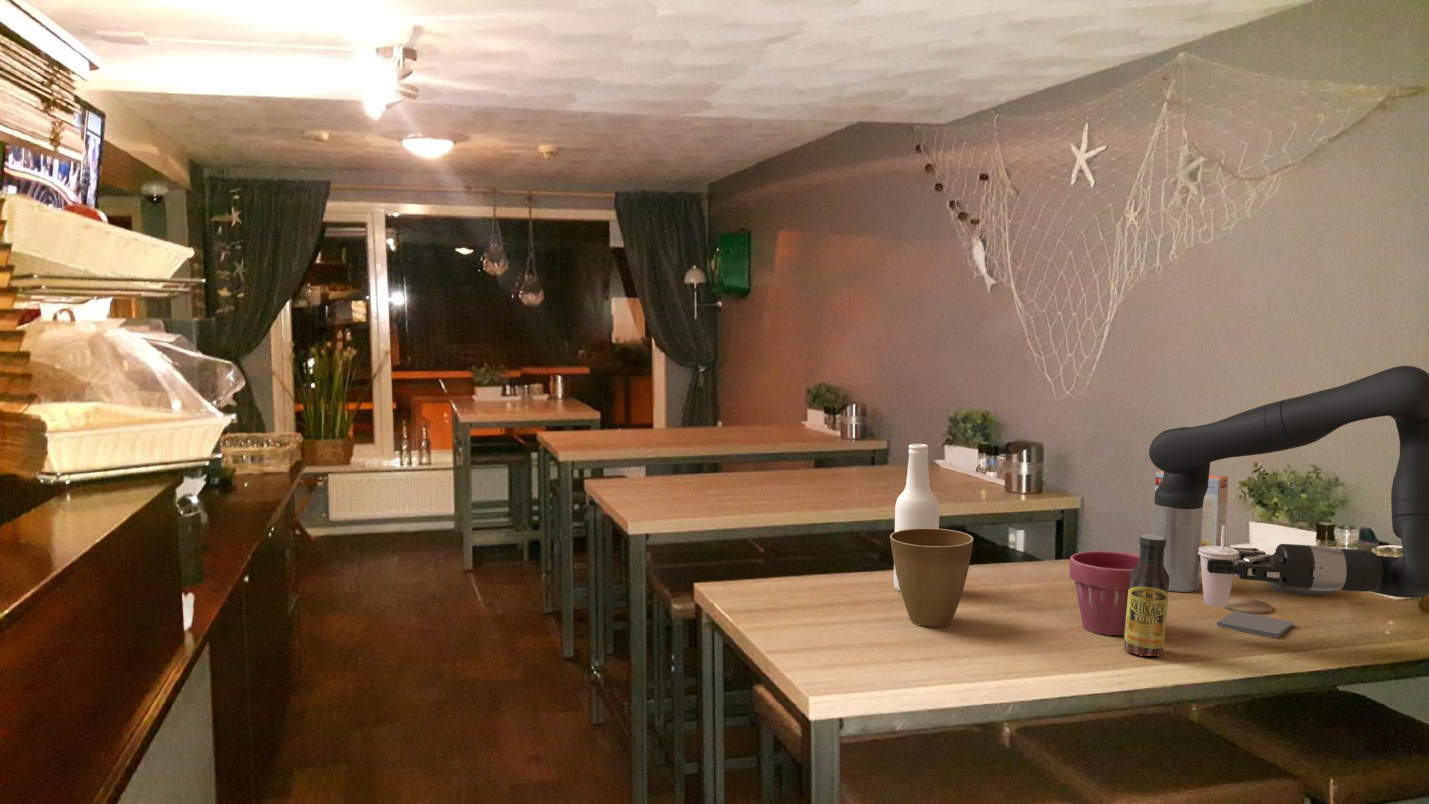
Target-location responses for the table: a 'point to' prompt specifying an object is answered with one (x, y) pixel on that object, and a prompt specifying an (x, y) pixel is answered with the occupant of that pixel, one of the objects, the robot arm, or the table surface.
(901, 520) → the alcohol
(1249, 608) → the cork trivet
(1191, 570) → the robot arm
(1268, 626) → the slate coaster
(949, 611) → the plant pot
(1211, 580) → the smoothie
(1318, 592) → the pie
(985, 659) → the table surface
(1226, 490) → the cracker box
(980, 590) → the table surface
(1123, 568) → the plant pot
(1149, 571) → the sauce bottle
